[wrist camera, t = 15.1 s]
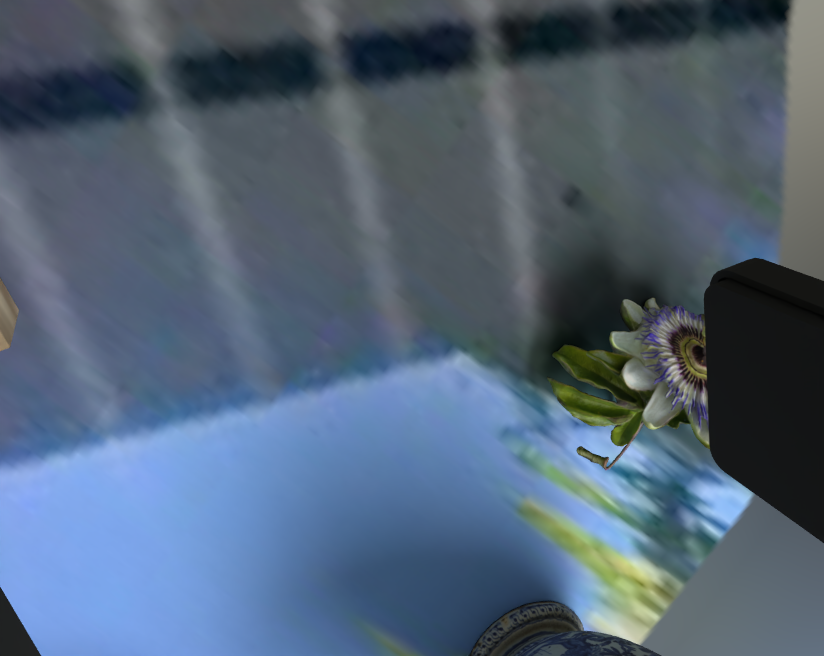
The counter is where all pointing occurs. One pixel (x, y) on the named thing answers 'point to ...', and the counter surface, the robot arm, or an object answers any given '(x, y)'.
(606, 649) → the decorative vase
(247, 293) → the counter surface
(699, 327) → the passion flower
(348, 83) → the counter surface
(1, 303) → the oak block
